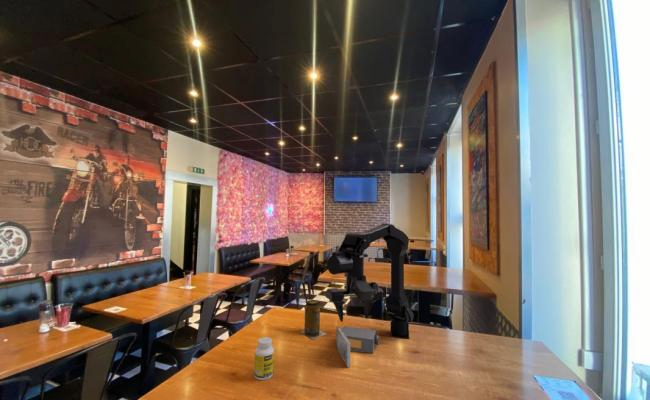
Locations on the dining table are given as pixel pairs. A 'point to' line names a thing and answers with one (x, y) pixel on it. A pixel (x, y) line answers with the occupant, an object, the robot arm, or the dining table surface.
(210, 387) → the dining table surface
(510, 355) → the dining table surface
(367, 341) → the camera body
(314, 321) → the condiment
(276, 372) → the dining table surface
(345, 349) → the side door
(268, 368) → the supplement bottle
